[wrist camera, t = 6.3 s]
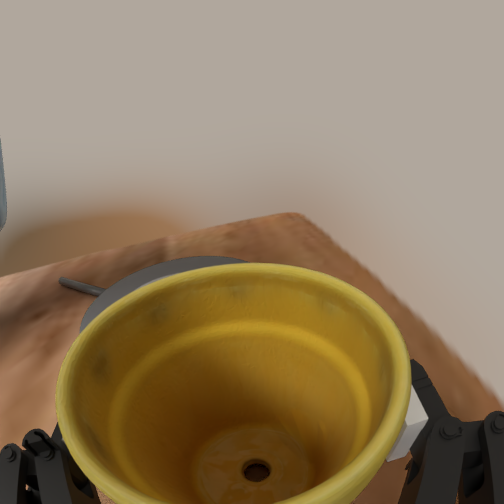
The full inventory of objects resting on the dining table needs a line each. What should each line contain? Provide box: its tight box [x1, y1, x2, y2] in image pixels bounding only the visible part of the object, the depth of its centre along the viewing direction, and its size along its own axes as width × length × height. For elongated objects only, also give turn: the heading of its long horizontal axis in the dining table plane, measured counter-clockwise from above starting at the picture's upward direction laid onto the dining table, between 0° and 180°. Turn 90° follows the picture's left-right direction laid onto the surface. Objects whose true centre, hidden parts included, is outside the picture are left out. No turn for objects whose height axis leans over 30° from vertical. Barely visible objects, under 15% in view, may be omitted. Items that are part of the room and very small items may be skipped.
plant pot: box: [56, 263, 412, 504], centre depth 10 cm, size 10×10×10 cm
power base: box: [59, 256, 250, 333], centre depth 28 cm, size 30×18×2 cm, turn 67°
